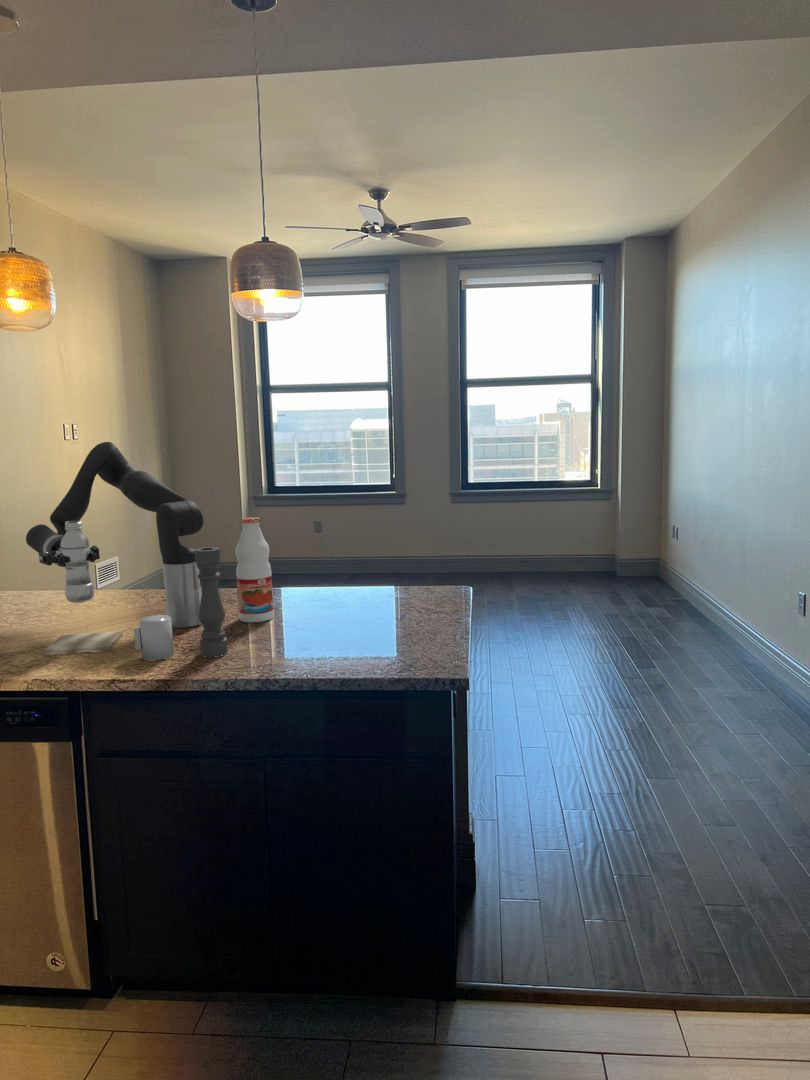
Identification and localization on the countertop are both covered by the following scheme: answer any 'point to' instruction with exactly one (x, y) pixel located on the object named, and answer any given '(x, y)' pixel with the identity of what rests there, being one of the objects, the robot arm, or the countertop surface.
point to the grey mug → (154, 637)
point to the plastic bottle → (76, 563)
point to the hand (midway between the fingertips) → (78, 559)
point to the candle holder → (210, 603)
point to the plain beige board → (83, 643)
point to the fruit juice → (253, 574)
